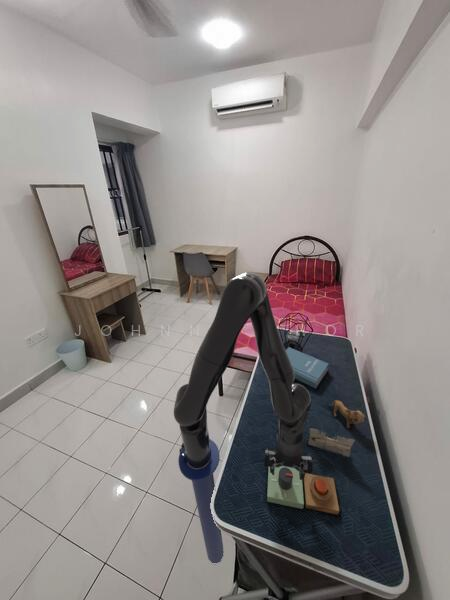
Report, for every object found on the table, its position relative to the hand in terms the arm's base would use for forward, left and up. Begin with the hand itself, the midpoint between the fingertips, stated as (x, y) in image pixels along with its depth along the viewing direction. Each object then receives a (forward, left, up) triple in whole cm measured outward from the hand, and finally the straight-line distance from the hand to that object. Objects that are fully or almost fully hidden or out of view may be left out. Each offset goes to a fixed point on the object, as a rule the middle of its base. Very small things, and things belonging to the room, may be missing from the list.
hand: (286, 474), depth 77 cm
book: (+9, +57, -7) cm, 58 cm away
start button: (+11, 0, -3) cm, 11 cm away
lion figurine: (+25, +30, -7) cm, 39 cm away
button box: (+11, 0, -7) cm, 13 cm away
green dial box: (0, 0, -7) cm, 7 cm away
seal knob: (0, 0, -4) cm, 4 cm away
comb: (+16, +15, -7) cm, 23 cm away
